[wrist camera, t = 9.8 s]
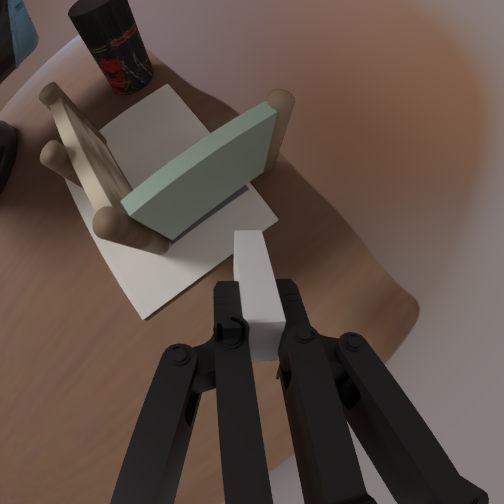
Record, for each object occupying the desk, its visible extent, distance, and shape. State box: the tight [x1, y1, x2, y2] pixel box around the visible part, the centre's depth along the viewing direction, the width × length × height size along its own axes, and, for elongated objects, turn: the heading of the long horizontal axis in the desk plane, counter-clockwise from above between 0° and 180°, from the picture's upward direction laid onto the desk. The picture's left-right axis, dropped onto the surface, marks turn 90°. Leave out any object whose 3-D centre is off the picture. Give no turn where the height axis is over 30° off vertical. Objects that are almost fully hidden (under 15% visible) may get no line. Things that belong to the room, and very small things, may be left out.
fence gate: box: [120, 89, 295, 240], centre depth 21 cm, size 13×2×11 cm, turn 128°
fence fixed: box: [39, 82, 169, 255], centre depth 21 cm, size 17×4×12 cm, turn 36°
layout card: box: [64, 84, 279, 320], centre depth 27 cm, size 22×17×1 cm
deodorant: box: [68, 0, 154, 95], centre depth 21 cm, size 6×6×15 cm
